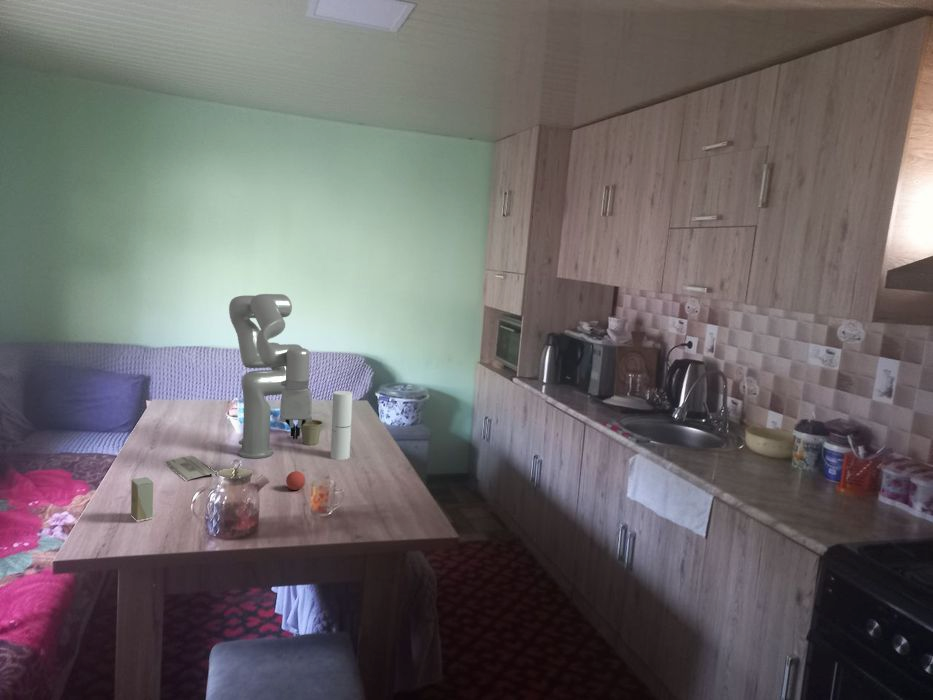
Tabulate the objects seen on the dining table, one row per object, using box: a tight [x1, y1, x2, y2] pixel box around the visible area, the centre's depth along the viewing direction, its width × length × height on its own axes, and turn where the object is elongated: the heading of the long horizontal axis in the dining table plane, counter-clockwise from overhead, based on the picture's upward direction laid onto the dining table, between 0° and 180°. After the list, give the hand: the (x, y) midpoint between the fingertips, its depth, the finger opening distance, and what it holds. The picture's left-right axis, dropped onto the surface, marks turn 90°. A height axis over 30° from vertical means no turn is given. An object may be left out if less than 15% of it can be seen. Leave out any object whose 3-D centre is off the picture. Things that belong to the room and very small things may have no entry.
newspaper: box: [164, 455, 217, 482], centre depth 225 cm, size 23×12×2 cm, turn 42°
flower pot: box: [300, 419, 324, 446], centre depth 264 cm, size 9×9×9 cm
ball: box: [285, 470, 306, 491], centre depth 212 cm, size 6×6×6 cm
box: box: [130, 476, 154, 520], centre depth 182 cm, size 5×4×11 cm
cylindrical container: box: [330, 390, 354, 461], centre depth 248 cm, size 7×7×25 cm
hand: (295, 438), depth 221 cm, fingers closed
